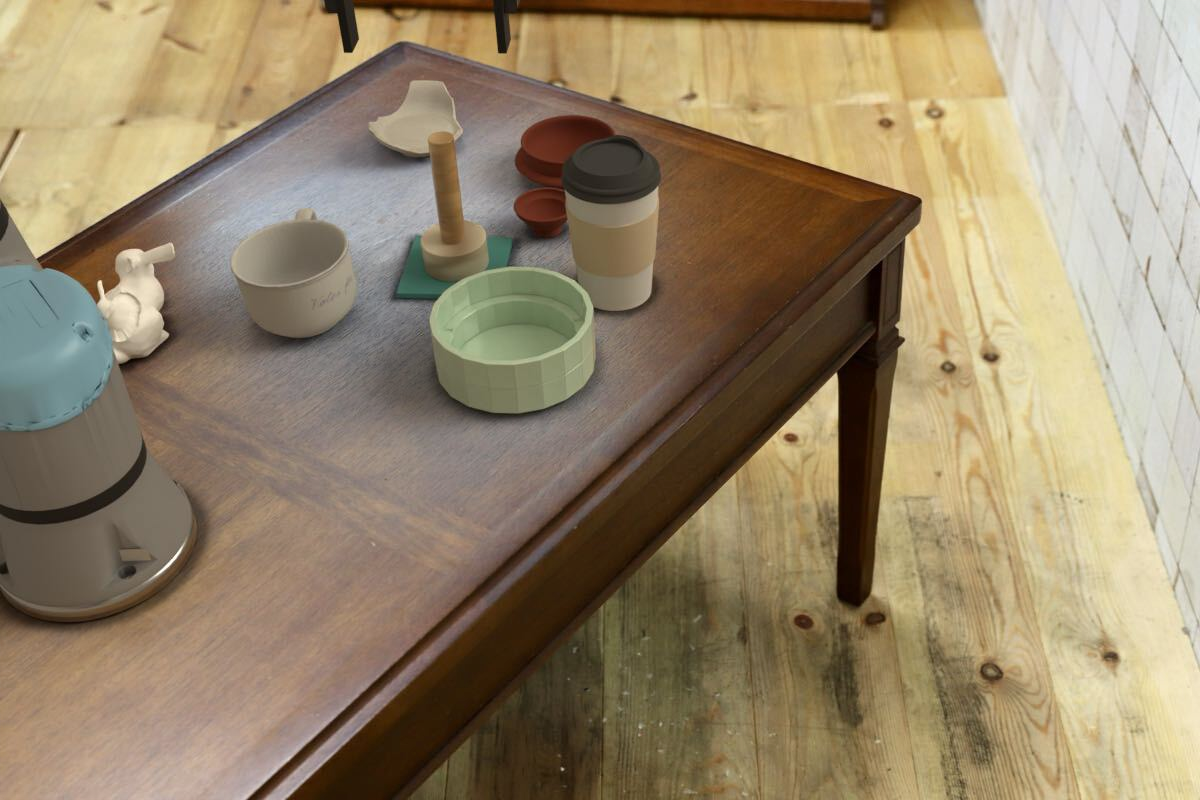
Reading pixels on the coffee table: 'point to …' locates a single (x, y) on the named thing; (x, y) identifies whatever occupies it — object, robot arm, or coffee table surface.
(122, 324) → the rabbit figurine
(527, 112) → the coffee table surface
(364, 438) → the coffee table surface
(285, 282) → the teacup
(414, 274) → the mat
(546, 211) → the pottery
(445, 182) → the wooden peg
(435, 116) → the pottery shard
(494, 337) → the bowl
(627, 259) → the coffee cup
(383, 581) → the coffee table surface
